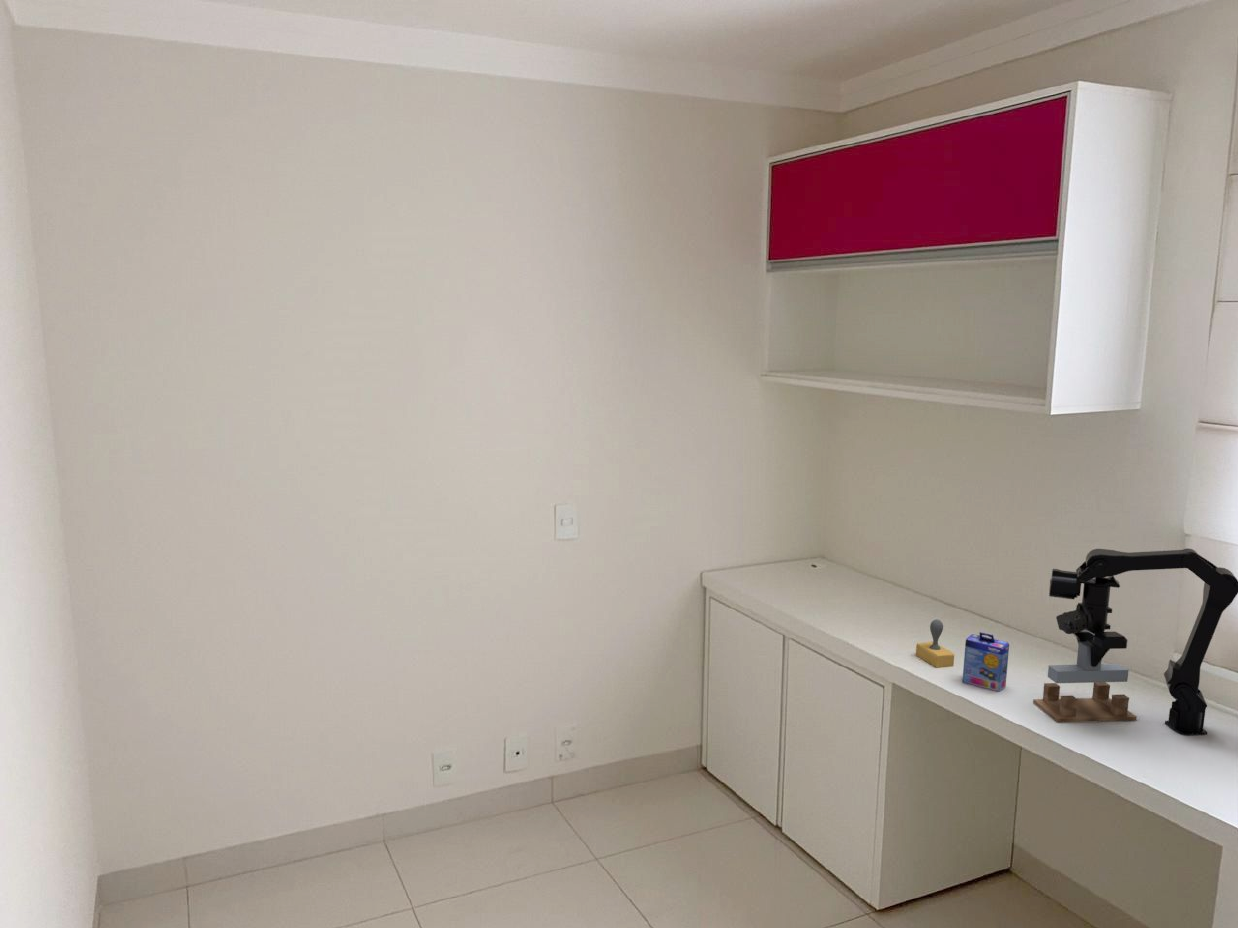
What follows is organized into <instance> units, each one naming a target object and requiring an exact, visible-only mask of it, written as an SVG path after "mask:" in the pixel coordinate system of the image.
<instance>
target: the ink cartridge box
mask: <svg viewBox="0 0 1238 928" xmlns="http://www.w3.org/2000/svg"><path fill="white" fill-rule="evenodd" d="M978 633H979V635H978V634H975V633H973V634H971V635H969V636H968V637H966V639H965V644H964V645H965V646H964V658H963V670H962V681H961V682H962V683H964V684H969V685H972V686H976V687H979V688H984V689H986V690H990V691H993V692H997V693H998V692H1001V691H1002V690H1003V689H1004V688H1006V686H1007V676H1008V675H1007V674H1008V664H1009V663H1008V661H1009V652H1010V651H1009V649H1010V643H1009V642H1008V641H1005V640H1001V639H996V638H995V636H994V635H993V634H989V633H985V632H981V631H980V632H978Z"/></svg>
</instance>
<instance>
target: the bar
mask: <svg viewBox="0 0 1238 928" xmlns="http://www.w3.org/2000/svg"><path fill="white" fill-rule="evenodd" d="M1077 645H1078V644H1077ZM1102 660H1103V658H1102V659H1101V661H1100V662H1099V664H1098V665H1097V666H1096V667H1092V666H1091V646H1090V645H1089V643H1088V642H1079V645H1078V647H1077V656H1076V664H1050V665H1048V670H1047V678H1048V679H1050V680H1051V681H1053V683H1056V684H1083V683H1084V684H1085V683H1086V684H1087V683H1089V684H1090V683H1091V684H1092V683H1093V684H1094V682H1106V683H1123V682H1124V683H1125V682H1128V680H1129V679H1128V677H1129V668H1126V667H1124V666H1123V665H1121V664H1120V663H1102Z"/></svg>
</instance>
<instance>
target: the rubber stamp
mask: <svg viewBox="0 0 1238 928" xmlns="http://www.w3.org/2000/svg"><path fill="white" fill-rule="evenodd" d="M929 630H930V634H931V636H932V637H931V638H932V641H925V642H917V643H916V645H915V646H916V648H915V655H916V656H917V657H918V658H920V659H921V660H922V661H925V662H927V663H928V664H929V665H932V666H933V667H934V668H936V669H939V668H940V669H941V668H950V667H954V663H955V653H954V652H952V651H951V650H949V649H947V648H945V647H943V646H942V645H940V644H938V643H939V639H940V636H942V633H943V631H944V623H943V622H942V621H941V620H940V619H933V620H932V621H931V623H930V625H929Z"/></svg>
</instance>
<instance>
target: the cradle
mask: <svg viewBox="0 0 1238 928" xmlns="http://www.w3.org/2000/svg"><path fill="white" fill-rule="evenodd" d="M1060 689H1061V686H1060V685H1059V683H1055V682H1050V683H1048V682H1046V683H1045V682H1044V683H1043V692H1042V698H1036V699H1035V698H1034V699H1033V700H1032V703H1033V705H1035V706H1036V707H1037V708H1039V709H1040V711H1042V710H1043V711H1042V712H1044V713H1045V714H1046V715H1047V716H1048V715H1049V718H1051V717H1052V718H1051V719H1052V720H1053V719H1054V720H1053V721H1055V722H1056V723H1082V722H1081V721H1097V722H1122V721H1123V722H1129V721H1130V722H1131V721H1134V720H1136V721H1137V716H1136V714H1134V713H1132V712H1131V711H1129V710H1128V708H1129V702H1130V701H1129V700H1130V698H1129V697H1128V696H1127V695H1126V694H1124V693H1123V694H1112V695H1111V697H1110V690H1111V685H1110V684H1109V683H1108V682H1094V683H1093V687H1092V697H1085V698H1084V697H1083V698H1082V697H1080V698H1079V697H1076V696H1074V695H1060V691H1061V690H1060ZM1134 722H1135V721H1134Z"/></svg>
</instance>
